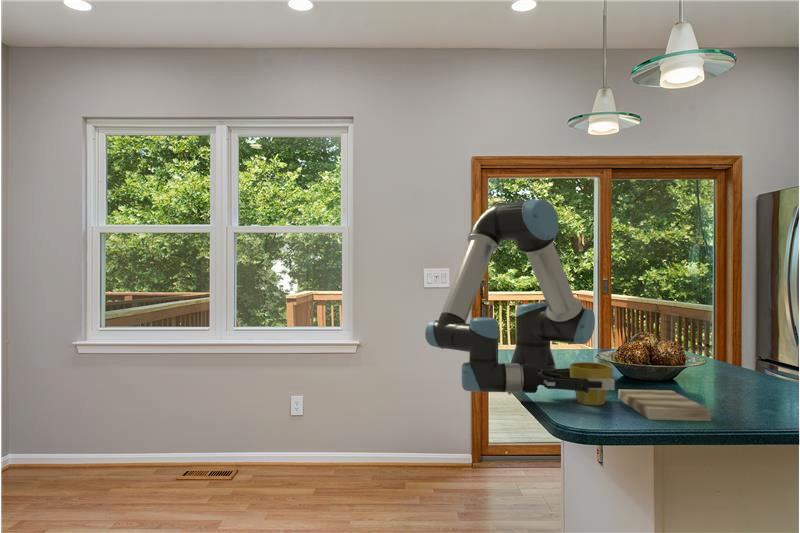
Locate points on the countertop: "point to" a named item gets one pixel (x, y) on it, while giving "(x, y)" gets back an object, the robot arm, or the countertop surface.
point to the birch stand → (664, 405)
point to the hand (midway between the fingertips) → (606, 379)
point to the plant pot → (590, 371)
